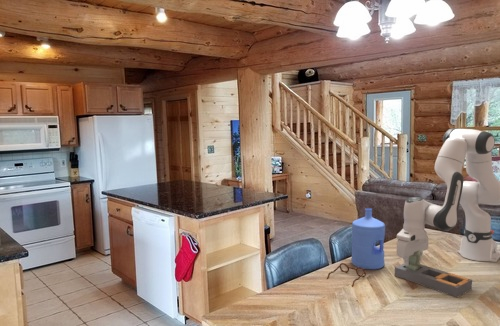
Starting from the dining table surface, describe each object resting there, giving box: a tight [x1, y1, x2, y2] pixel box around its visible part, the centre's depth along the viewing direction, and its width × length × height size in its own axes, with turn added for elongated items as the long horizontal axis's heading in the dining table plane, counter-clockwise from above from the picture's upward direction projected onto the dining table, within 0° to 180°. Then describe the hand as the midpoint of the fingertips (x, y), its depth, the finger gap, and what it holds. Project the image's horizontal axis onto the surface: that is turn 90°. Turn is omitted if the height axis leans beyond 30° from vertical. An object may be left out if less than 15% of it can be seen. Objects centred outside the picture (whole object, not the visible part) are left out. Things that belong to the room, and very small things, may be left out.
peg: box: [405, 250, 421, 271], centre depth 176 cm, size 4×4×12 cm
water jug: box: [351, 207, 386, 270], centre depth 190 cm, size 16×16×28 cm
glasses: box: [326, 262, 367, 288], centre depth 174 cm, size 13×13×5 cm
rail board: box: [394, 263, 473, 298], centre depth 169 cm, size 12×28×4 cm, turn 36°
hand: (412, 262), depth 176 cm, fingers open, 8 cm apart
